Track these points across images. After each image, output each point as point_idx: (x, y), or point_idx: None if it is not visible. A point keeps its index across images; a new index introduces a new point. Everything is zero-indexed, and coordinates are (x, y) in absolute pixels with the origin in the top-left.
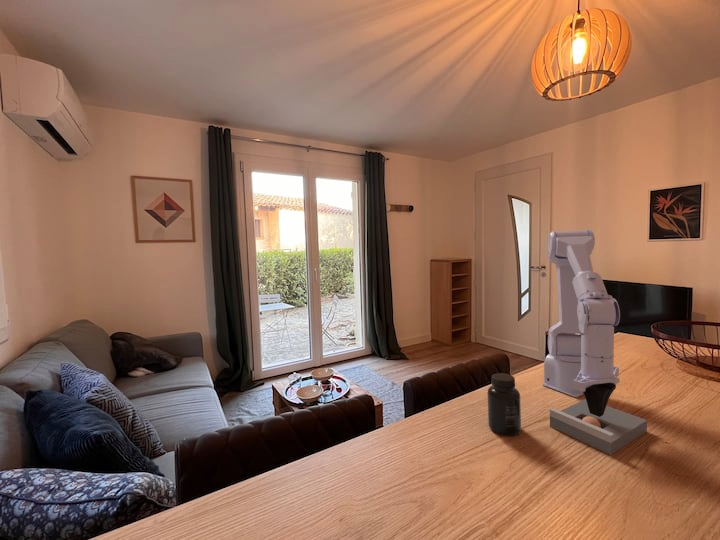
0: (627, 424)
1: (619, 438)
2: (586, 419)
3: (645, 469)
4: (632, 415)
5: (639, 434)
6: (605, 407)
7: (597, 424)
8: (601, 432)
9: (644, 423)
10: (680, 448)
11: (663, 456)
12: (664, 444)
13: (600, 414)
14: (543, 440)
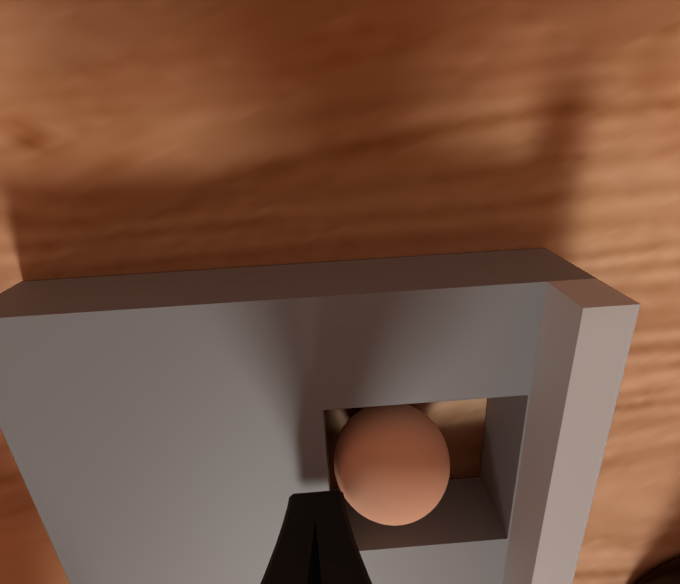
0: (191, 357)
1: (458, 284)
2: (433, 506)
3: (538, 48)
4: (1, 409)
5: (135, 278)
6: (279, 553)
7: (409, 445)
8: (618, 366)
9: (13, 310)
10: (4, 36)
11: (252, 57)
12: (72, 132)
13: (342, 506)
14: (664, 478)
